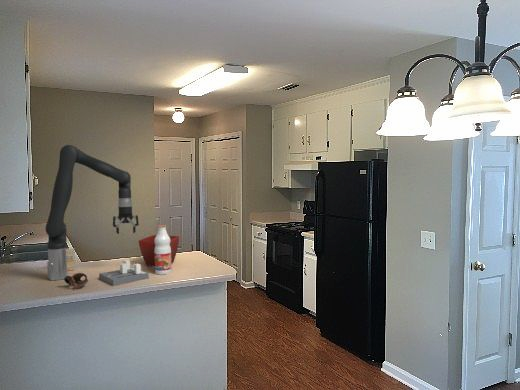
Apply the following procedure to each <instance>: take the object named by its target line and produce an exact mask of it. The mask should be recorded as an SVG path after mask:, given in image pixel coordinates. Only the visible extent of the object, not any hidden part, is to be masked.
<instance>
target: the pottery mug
mask: <svg viewBox="0 0 520 390" xmlns="http://www.w3.org/2000/svg"><path fill="white" fill-rule="evenodd" d="M82 277H84V279H83V280H82V279H81V278H82ZM63 281H64V283H66V284H67V285H68V286H69V287H71V286H72V289H73V290H77V289H78V288H80V287H83V286H85V285H86V284H87V283H88V282H89V280H88V276H87V274H85V273H83V272H77V273H76V272H75V273H73V275H72V276H71V275H67V276H66V277H65V279H63Z"/></svg>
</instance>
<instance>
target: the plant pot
mask: <svg viewBox="0 0 520 390" xmlns="http://www.w3.org/2000/svg"><path fill="white" fill-rule="evenodd" d="M156 235H157V234H156ZM156 235H149V236H148V237H144V238H141V239H138V246H139V249H140V254H141V255H142V258H143V261H144V263H145V266H146V267H154V268H155V254H154V249H155V242H154V239H155V237H156ZM168 236H169V237H170V247H171V264H173V263H174V262H175V259H176V255H177V254H178V253H177V252H178V248H179V247H178V246H179V242H180V236H178V235H168Z"/></svg>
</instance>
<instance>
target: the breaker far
mask: <svg viewBox="0 0 520 390" xmlns="http://www.w3.org/2000/svg"><path fill="white" fill-rule="evenodd" d="M123 263H125V264H127V270H129V269H130V268H131V260H129V259H125V260H123Z"/></svg>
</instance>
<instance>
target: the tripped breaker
mask: <svg viewBox="0 0 520 390" xmlns="http://www.w3.org/2000/svg"><path fill="white" fill-rule="evenodd" d="M119 270H120V273H122V274H124V273H127V264H125V263H124V262H123V263H120V264H119Z"/></svg>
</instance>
